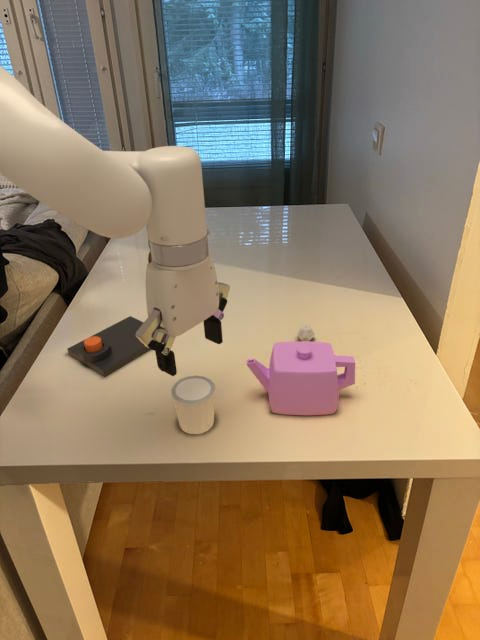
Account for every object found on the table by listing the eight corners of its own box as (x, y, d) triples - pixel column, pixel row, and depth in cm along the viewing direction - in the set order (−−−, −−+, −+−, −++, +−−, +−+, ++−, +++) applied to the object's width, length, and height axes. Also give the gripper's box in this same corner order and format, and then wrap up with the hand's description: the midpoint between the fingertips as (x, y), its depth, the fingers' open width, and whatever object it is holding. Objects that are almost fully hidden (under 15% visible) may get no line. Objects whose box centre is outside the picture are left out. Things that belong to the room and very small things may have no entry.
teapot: (246, 416, 77) (245, 367, 71) (248, 377, 86) (247, 330, 80) (357, 418, 76) (364, 367, 70) (347, 377, 85) (353, 330, 79)
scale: (102, 378, 87) (99, 365, 85) (66, 355, 93) (62, 343, 92) (167, 339, 97) (166, 326, 96) (131, 321, 104) (129, 309, 102)
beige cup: (216, 437, 73) (213, 403, 69) (172, 437, 73) (167, 403, 70) (219, 407, 79) (216, 374, 75) (178, 407, 79) (174, 375, 75)
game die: (296, 344, 94) (296, 331, 93) (297, 334, 97) (298, 322, 96) (313, 345, 94) (314, 333, 92) (314, 335, 97) (315, 323, 95)
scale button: (92, 354, 89) (90, 347, 88) (82, 349, 90) (80, 341, 89) (105, 347, 91) (104, 339, 90) (96, 341, 92) (94, 334, 92)
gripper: (204, 223, 68) (212, 322, 77) (106, 264, 57) (130, 375, 66) (243, 233, 64) (247, 337, 73) (147, 280, 53) (166, 396, 62)
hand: (191, 355), depth 69 cm, fingers open, 9 cm apart
